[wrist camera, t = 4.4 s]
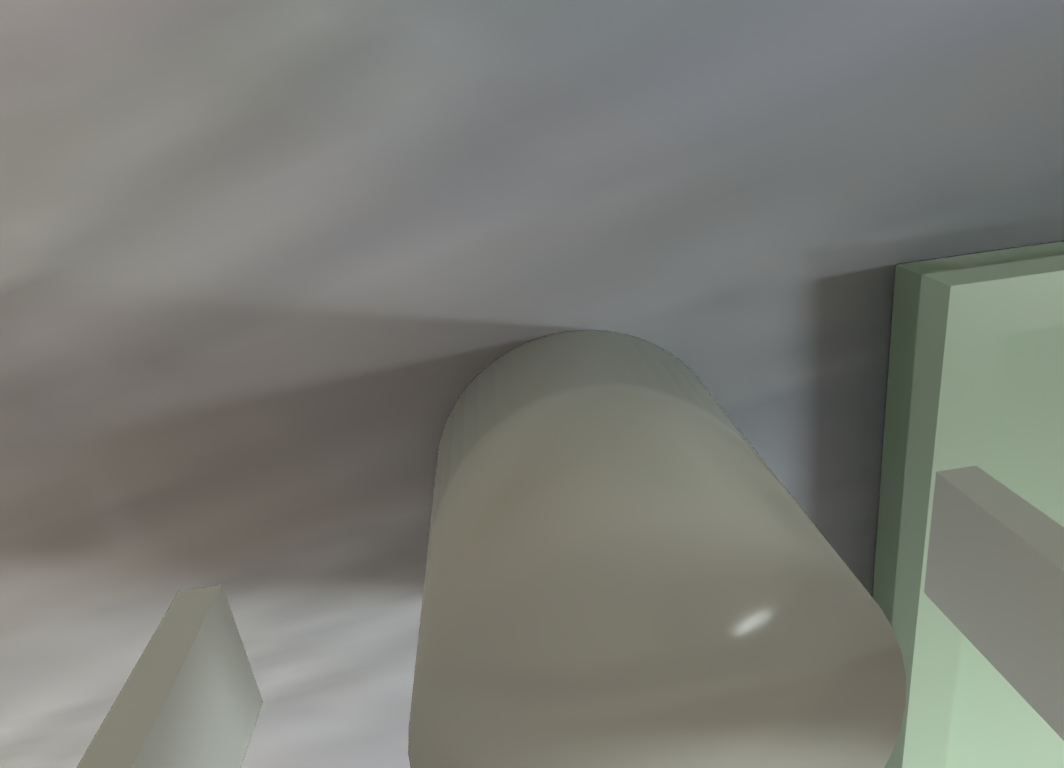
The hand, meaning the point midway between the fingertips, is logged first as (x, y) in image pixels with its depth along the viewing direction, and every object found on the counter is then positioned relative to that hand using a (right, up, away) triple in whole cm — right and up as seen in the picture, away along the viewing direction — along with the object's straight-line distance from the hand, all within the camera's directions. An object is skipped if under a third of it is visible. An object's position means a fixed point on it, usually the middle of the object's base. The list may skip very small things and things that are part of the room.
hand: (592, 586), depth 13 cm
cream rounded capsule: (0, +2, +4) cm, 5 cm away
